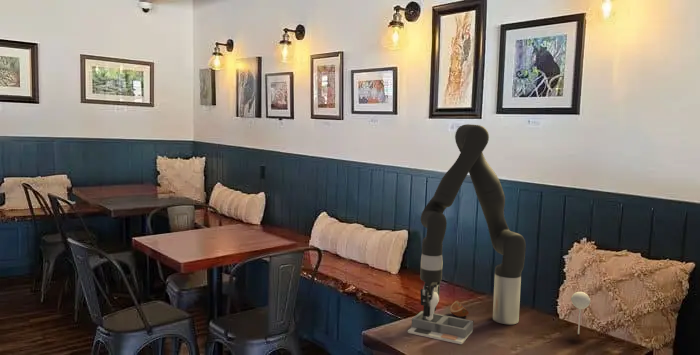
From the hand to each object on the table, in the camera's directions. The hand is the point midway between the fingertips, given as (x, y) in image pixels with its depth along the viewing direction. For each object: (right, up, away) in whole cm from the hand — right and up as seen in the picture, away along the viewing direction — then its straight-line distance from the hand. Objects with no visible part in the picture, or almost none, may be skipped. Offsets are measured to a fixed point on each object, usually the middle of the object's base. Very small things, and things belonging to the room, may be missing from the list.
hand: (429, 313), depth 191 cm
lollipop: (+51, -7, -2) cm, 52 cm away
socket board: (+3, -6, -3) cm, 7 cm away
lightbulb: (0, -3, 0) cm, 3 cm away
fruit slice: (+13, -4, +13) cm, 19 cm away
